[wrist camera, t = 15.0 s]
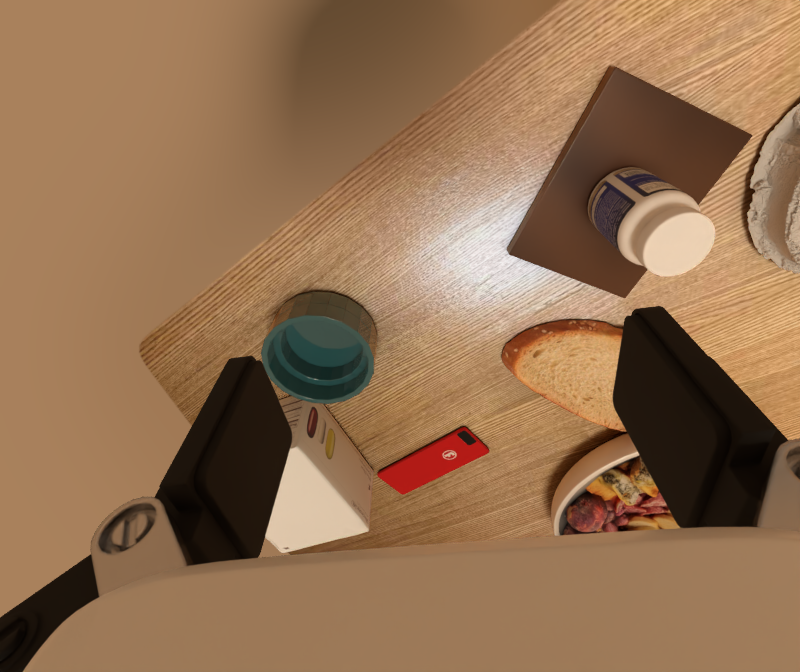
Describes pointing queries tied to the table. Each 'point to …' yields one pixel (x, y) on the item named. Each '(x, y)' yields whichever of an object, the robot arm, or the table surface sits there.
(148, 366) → the table surface
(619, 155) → the walnut board
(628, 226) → the pill bottle
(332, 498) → the supplement box
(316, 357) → the teal bowl
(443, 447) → the electronic device
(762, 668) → the robot arm
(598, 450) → the bowl
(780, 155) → the grey pie
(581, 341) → the bread slice
